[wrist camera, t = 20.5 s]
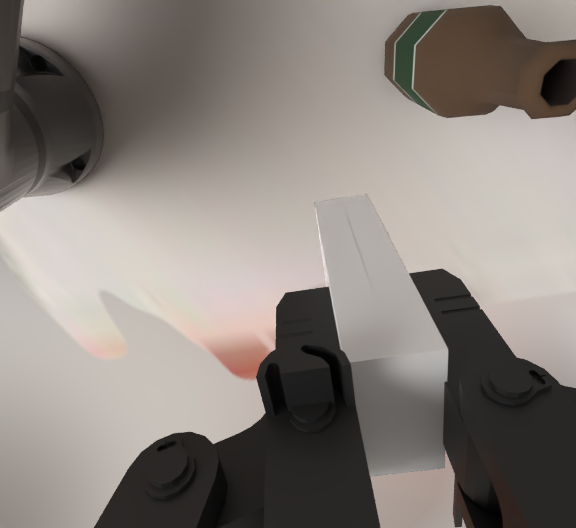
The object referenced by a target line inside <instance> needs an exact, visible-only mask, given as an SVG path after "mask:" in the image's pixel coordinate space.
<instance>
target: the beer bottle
mask: <svg viewBox="0 0 576 528" xmlns="http://www.w3.org/2000/svg"><path fill="white" fill-rule="evenodd" d="M385 76H386V77H387V78H388V79H389V80H390V81H391V82H392V83H393V84H394V85H395V86H396V87H397V88H398V89H399V90H400V91H401V92H402V94H403V95H404V96H406V97H407V98H408V99H410V100H411V101H413V102H415V103H417V104H419V105H420V106H422V107H424V108H426V109H428V110H429V111H431V112H433V113H435V114H437V115H439V116H442V117H446V118H451V117H462V116H474V115H485V114H488V113H490V112H492V111H494V110H495V109H496V108H497V107H498V106H499V105H502V106H507V107H512V108H517V109H522V110H524V111H525V112H526V113H527V114H528V115H529V117H530V118H531V119H538V118H550V117H561V116H567V115H570V114H571V113H572V112H574V111H575V110H576V40H568V41H557V42H540V41H535V40H530V39H526V38H525V36H524V35H523V34H522V32H521V31H520V30H519V29H518V27H517V26H516V25H515V24H514V22H513V21H512V20H511V18H510V17H509V16H508V15H507V13H506V12H505V11H504V10H503V8H502V7H501V6H492V5H488V6H478V7H467V8H457V9H446V10H437V11H428V12H419V13H412V14H410V15H408V16H407V17H406V18H405V19H404V21H403V22H402V23H401V24H400V25H399V26H398V28H397V29H396V30H395V31H394V32H393V34H392V35H391V36H390V37H389V38H388V39H387V41H386V42H385Z"/></svg>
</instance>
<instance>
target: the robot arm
mask: <svg viewBox="0 0 576 528" xmlns="http://www.w3.org/2000/svg"><path fill="white" fill-rule="evenodd" d="M23 5H24V0H0V212H1V211H2V210H4V209H5V208H7V207H8V206H10V205H11V204H13V203H14V202H16V201H17V200H19V199H20V198H22V197H34V196H45V195H52V194H56V193H59V192H62V191H64V190H66V189H68V188H70V187H72V186H73V185H75V184H76V183H78V182H79V181H80V180H82V179H83V178H84V177H85V176H86V175H87V174H88V173H89V172H90V171H91V170H92V169H93V167H94V166H95V164H96V162H97V160H98V158H99V156H100V153H101V149H102V143H103V125H102V119H101V115H100V111H99V108H98V105H97V103H96V100H95V98H94V96H93V94H92V92H91V91H90V89H89V87H88V86H87V84H86V83H85V81H84V80H83V78H82V77H81V76H80V75H79V73H78V72H77V71H76V70H75V69H74V68H73V67H72V66H71V65H70V64H69V63H68V62H67V61H66V60H64V59H63V58H62V57H61V56H59V55H58V54H57V53H55V52H54V51H52V50H50V49H49V48H47V47H45V46H43V45H41V44H39V43H37V42H35V41H32V40H29V39H26V38H22V37H20V35H21V25H22V15H23ZM314 203H315V211H316V218H317V225H318V232H319V239H320V246H321V253H322V261H323V268H324V275H325V282H326V287H323V288H316V289H309V290H302V291H295V292H288V293H285V295H284V296H283V298H282V299H281V301H280V302H279V304H278V305H277V307H276V350H274V351H272V352H271V353H270V354H269V355H268V356H267V357H266V358H265V359H264V360H263V362H262V363H261V364H260V367H259V370H258V373H257V376H256V378H257V382H258V386H259V389H260V393H261V397H262V401H263V404H264V408H265V411H266V413H265V414H264V416H263V417H262V418H261V419H260V420H259V421H258V422H257V423H255V424H254V425H253V426H252V427H250V428H248V429H246V430H244V431H242V432H241V433H239V434H236V435H234V436H232V437H229V438H227V439H225V440H222V441H220V442H217V443H215V444H212V443H211V442H210V441H209V440H208V439H207V438H206V437H205V436H203V435H200V434H196V433H193V432H184V433H174V434H171V435H169V436H167V437H164V438H162V439H159V440H157V441H156V442H154V443H153V444H152V445H150V446H149V447H148V448H146V449H145V450H144V451H142V452H141V453H140V455H139V456H138V457H137V458H136V460H135V461H134V462H133V463H132V465H131V466H130V467H129V469H128V470H127V472H126V474H125V476H124V477H123V479H122V481H121V482H120V484H119V486H118V487H117V489H116V491H115V492H114V494H113V496H112V498H111V499H110V501H109V503H108V505H107V506H106V508H105V510H104V511H103V513H102V515H101V516H100V518H99V520H98V522H97V523H96V525H95V527H94V528H380V523H379V518H378V514H377V509H376V504H375V499H374V494H373V489H372V484H371V479H370V476H379V475H387V474H396V473H404V472H414V471H423V470H431V469H440V468H445V450H446V452H447V455H448V457H449V460H450V462H451V465H452V468H453V470H454V473H455V483H454V504H453V517H454V524H455V527H461V526H462V517H463V520H464V522H465V525H466V528H576V388H572V387H566V386H563V385H560V384H559V382H558V381H557V380H556V379H555V378H554V377H552V376H551V375H550V374H549V373H548V372H547V371H546V370H545V369H543V368H541V367H539V366H537V365H535V364H533V363H531V362H529V361H527V360H524V359H520V358H516V356H515V355H514V354H513V352H512V351H511V349H510V348H509V347H508V345H507V344H506V342H505V341H504V340H503V338H502V337H501V336H500V334H499V333H498V331H497V330H496V328H495V327H494V326H493V324H492V323H491V321H490V320H489V319H488V317H487V316H486V314H485V313H484V312H483V310H482V309H480V306H479V305H478V303H477V302H476V300H475V299H474V298H473V297H471V293H470V292H469V291H468V289H467V288H466V286H465V285H464V284H463V282H462V281H461V279H459V278H457V277H455V276H454V275H452V274H450V273H449V272H447V271H445V270H444V269H437V270H430V271H423V272H416V273H408V271H407V269H406V267H405V265H404V263H403V262H402V260H401V258H400V256H399V254H398V252H397V250H396V248H395V246H394V244H393V242H392V240H391V238H390V237H389V235H388V233H387V231H386V229H385V227H384V225H383V223H382V221H381V219H380V217H379V215H378V214H377V212H376V210H375V208H374V206H373V204H372V202H371V200H370V198H369V196H368V194H364V195H357V196H351V197H345V198H338V199H332V200H326V201H319V202H314Z"/></svg>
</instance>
